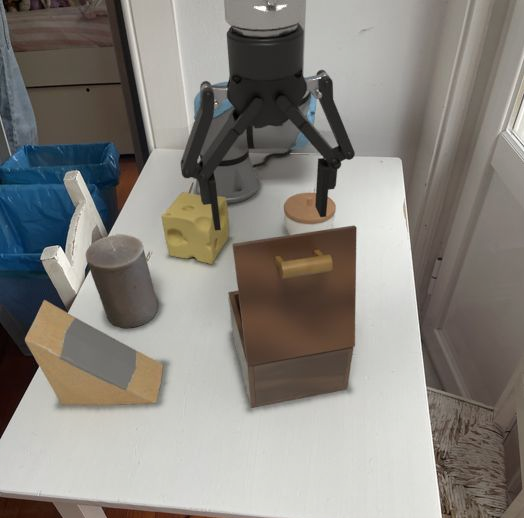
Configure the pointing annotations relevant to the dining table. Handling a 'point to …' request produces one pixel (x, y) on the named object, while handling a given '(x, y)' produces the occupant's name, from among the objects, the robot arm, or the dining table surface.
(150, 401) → the sandwich container
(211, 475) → the dining table surface
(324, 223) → the trinket box
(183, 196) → the cheese
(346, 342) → the lid
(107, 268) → the pillar candle
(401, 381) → the dining table surface
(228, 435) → the dining table surface
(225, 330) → the dining table surface
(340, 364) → the bread box
